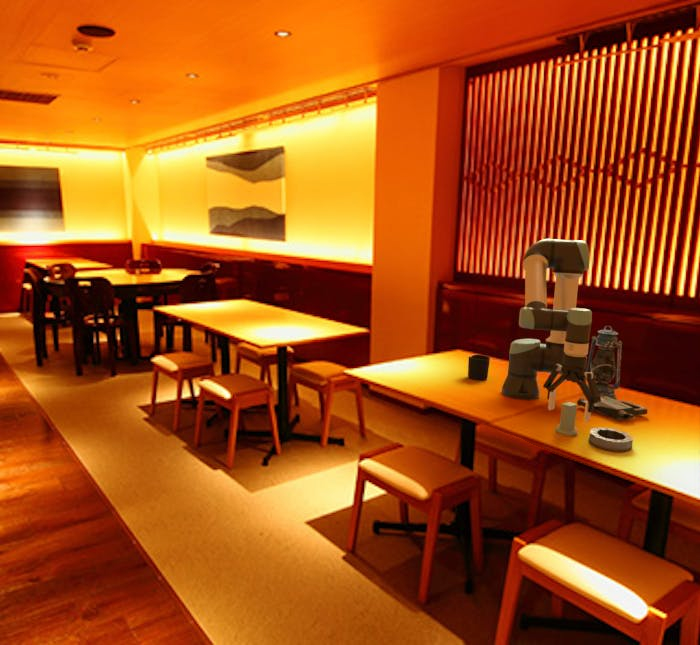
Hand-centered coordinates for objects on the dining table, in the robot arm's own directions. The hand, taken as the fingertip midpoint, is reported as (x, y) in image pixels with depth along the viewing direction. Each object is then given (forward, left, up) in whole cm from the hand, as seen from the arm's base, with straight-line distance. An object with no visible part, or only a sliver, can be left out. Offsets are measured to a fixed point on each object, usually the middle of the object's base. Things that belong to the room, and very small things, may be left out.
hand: (568, 415), depth 191 cm
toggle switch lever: (0, 0, -6) cm, 6 cm away
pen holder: (-62, +25, -7) cm, 67 cm away
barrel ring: (+14, +3, -6) cm, 16 cm away
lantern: (-18, +52, -7) cm, 56 cm away
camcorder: (-2, +34, -7) cm, 35 cm away
